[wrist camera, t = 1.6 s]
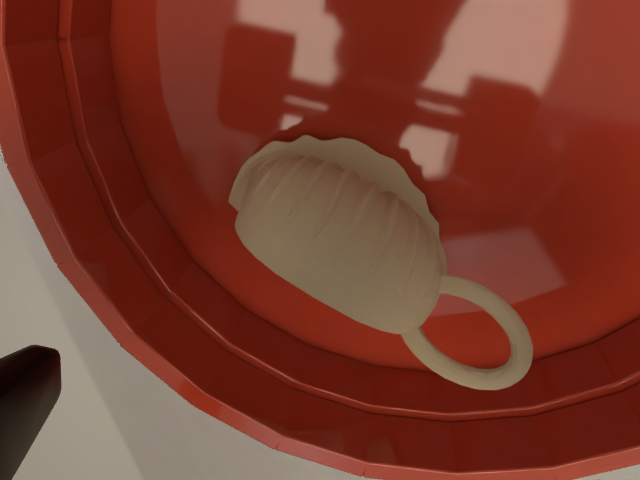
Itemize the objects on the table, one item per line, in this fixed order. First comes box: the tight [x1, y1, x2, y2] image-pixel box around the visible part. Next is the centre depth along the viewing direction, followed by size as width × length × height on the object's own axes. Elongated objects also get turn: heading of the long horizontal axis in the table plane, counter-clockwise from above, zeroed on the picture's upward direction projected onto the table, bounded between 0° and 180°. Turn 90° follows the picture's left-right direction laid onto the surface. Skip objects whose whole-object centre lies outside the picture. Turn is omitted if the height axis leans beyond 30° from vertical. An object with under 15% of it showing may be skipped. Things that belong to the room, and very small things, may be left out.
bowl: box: [0, 0, 640, 480], centre depth 13 cm, size 21×21×4 cm
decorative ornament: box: [228, 135, 533, 390], centre depth 14 cm, size 4×8×5 cm, turn 58°
